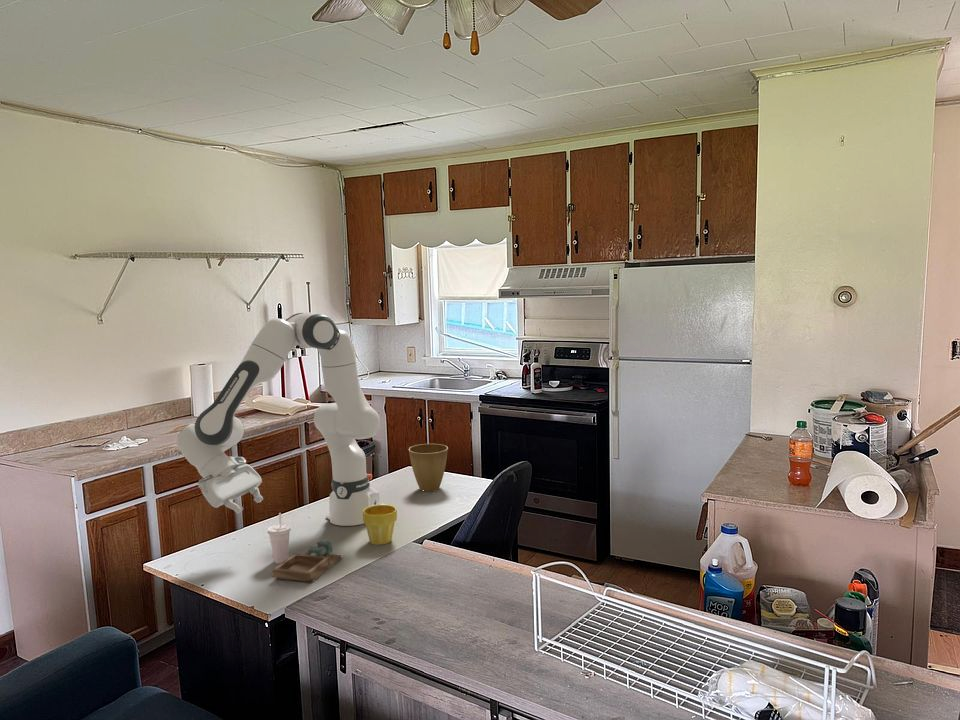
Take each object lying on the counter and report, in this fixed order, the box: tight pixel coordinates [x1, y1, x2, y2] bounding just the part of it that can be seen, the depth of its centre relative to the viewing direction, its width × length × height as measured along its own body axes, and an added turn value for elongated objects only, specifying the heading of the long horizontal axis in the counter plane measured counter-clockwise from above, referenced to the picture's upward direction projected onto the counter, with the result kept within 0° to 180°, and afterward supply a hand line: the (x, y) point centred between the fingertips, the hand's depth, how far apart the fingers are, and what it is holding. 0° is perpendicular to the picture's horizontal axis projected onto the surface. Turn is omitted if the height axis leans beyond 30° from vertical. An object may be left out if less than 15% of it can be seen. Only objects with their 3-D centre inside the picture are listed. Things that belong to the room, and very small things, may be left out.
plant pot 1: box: [363, 504, 398, 545], centre depth 205 cm, size 10×10×10 cm
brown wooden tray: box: [271, 540, 342, 583], centre depth 187 cm, size 20×11×4 cm, turn 164°
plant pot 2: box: [408, 443, 449, 492], centre depth 256 cm, size 15×15×16 cm
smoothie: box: [267, 512, 292, 564], centre depth 192 cm, size 6×6×14 cm
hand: (250, 506), depth 194 cm, fingers open, 8 cm apart
